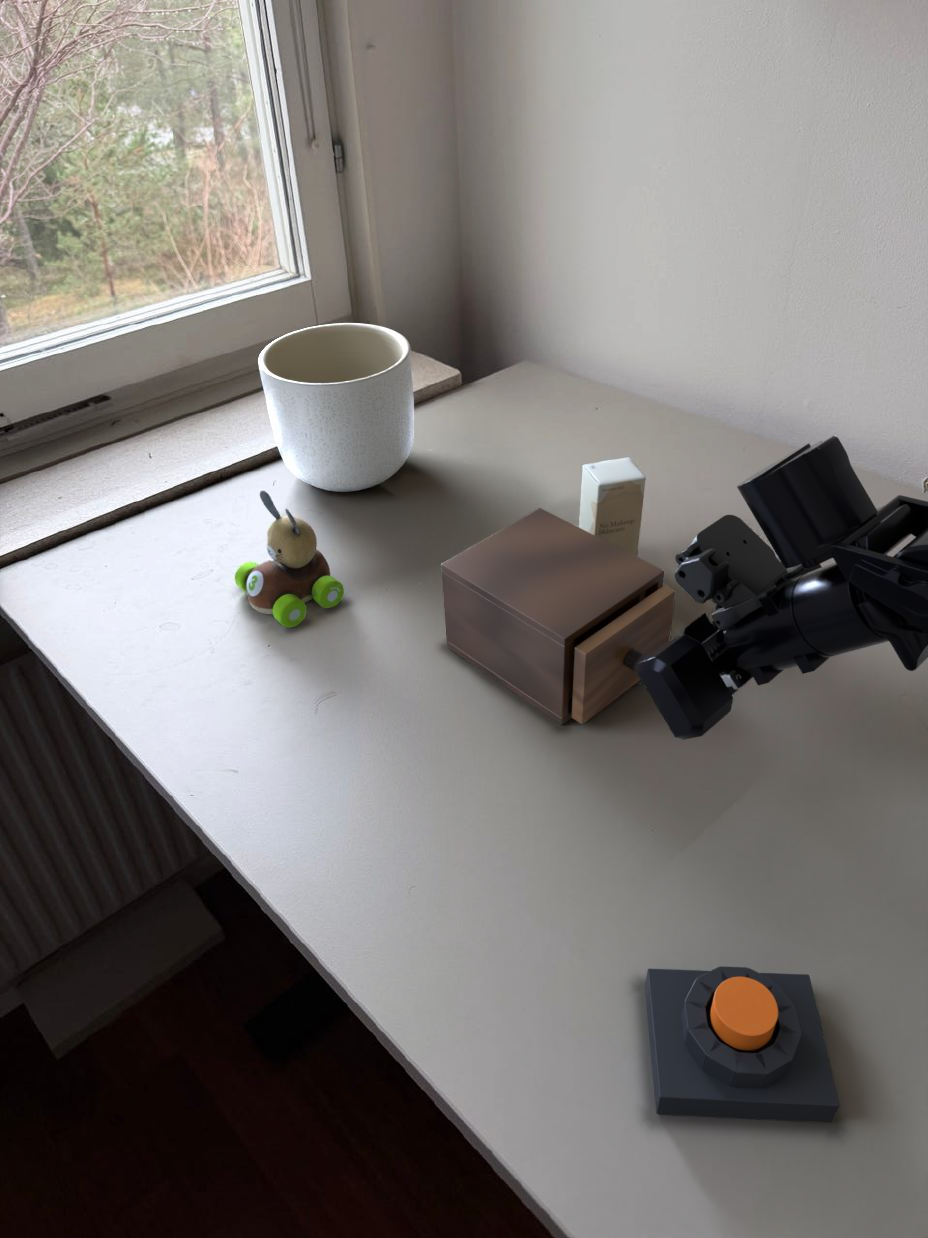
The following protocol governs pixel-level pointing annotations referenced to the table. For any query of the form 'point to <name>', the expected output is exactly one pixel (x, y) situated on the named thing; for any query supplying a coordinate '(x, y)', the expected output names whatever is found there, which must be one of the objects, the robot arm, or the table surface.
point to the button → (744, 1013)
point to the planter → (340, 403)
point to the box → (613, 502)
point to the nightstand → (536, 602)
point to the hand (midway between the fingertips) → (671, 662)
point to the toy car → (289, 571)
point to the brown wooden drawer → (617, 651)
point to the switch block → (737, 1051)
